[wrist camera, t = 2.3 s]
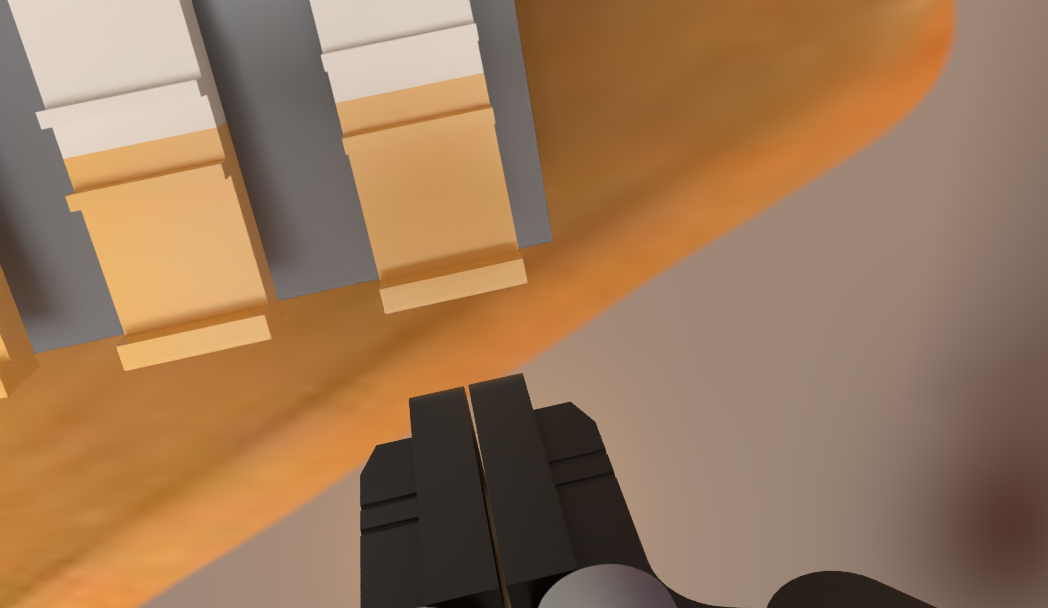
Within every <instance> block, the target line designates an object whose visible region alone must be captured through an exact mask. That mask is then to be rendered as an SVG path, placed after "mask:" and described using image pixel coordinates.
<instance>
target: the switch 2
mask: <svg viewBox="0 0 1048 608" xmlns="http://www.w3.org/2000/svg"><path fill="white" fill-rule="evenodd" d="M310 4H311V8H312V12H313V16H314V20H315V24H316V28H317V32H318V36H319V40H320V44H321V48H322V52H323V54H321V59H322V62H323V66H324V70H325V72H328V76H329V80H330V84H331V88H332V92H333V96H334V100H335V104H336V108H337V112H338V116H339V120H340V124H341V128H342V132H343V137H342V142H343V146H344V150H345V154H346V155H349V159H350V163H351V167H352V171H353V175H354V179H355V183H356V187H357V191H358V195H359V199H360V203H361V207H362V211H363V215H364V219H365V223H366V227H367V231H368V235H369V239H370V243H371V247H372V251H373V255H374V259H375V263H376V267H377V271H378V275H379V279H380V287H379V291H380V295H381V299H382V303H383V307H384V311H385V314H388V313H393V312H398V311H402V310H407V309H411V308H416V307H420V306H425V305H429V304H434V303H439V302H443V301H448V300H452V299H457V298H461V297H466V296H471V295H475V294H480V293H484V292H489V291H493V290H498V289H503V288H507V287H512V286H516V285H521V284H525V283H528V282H527V277H526V272H525V267H524V262H523V258H522V256H521V254H520V252H519V248H518V243H517V238H516V232H515V227H514V222H513V217H512V212H511V207H510V202H509V197H508V192H507V187H506V182H505V177H504V172H503V167H502V162H501V157H500V152H499V147H498V142H497V137H496V132H495V127H494V124H496V123H495V117H494V112H493V107H492V106H491V105H490V102H489V96H488V91H487V86H486V81H485V76H484V71H483V66H482V61H481V56H480V51H479V46H478V41H479V37H478V32H477V27H476V23H474V21H473V16H472V11H471V6H470V1H469V0H310Z"/></svg>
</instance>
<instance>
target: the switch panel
mask: <svg viewBox="0 0 1048 608" xmlns="http://www.w3.org/2000/svg"><path fill="white" fill-rule="evenodd" d="M191 1H192V4H193V7H194V11H195V14H196V18H197V21H198V25H199V28H200V32H201V35H202V39H203V42H204V45H205V49H206V52H207V56H208V59H209V63H210V66H211V70H212V73H213V76H214V80H215V83H216V87H217V90H218V94H219V97H220V101H221V104H222V108H223V111H224V114H225V118H226V121H227V125H228V128H229V132H230V135H231V139H232V142H233V146H234V149H235V152H236V156H237V159H238V163H239V166H240V170H241V173H242V177H243V180H244V183H245V187H246V190H247V194H248V197H249V201H250V204H251V208H252V211H253V215H254V218H255V221H256V225H257V228H258V232H259V235H260V239H261V242H262V246H263V249H264V253H265V256H266V259H267V263H268V266H269V270H270V273H271V277H272V280H273V284H274V287H275V290H276V294H277V297H278V301H279V300H284V299H289V298H293V297H298V296H302V295H307V294H312V293H316V292H321V291H325V290H330V289H335V288H339V287H344V286H349V285H353V284H358V283H362V282H367V281H372V280H376V279H379V275H378V271H377V267H376V263H375V259H374V255H373V251H372V247H371V243H370V239H369V235H368V231H367V227H366V223H365V219H364V215H363V211H362V207H361V203H360V199H359V195H358V191H357V187H356V183H355V179H354V175H353V171H352V167H351V163H350V159H349V155H346V154H345V150H344V146H343V142H342V137H343V132H342V128H341V124H340V120H339V116H338V112H337V108H336V104H335V100H334V96H333V92H332V88H331V84H330V80H329V76H328V72H325V70H324V66H323V62H322V59H321V54H323V52H322V48H321V44H320V40H319V36H318V32H317V28H316V24H315V20H314V16H313V12H312V8H311V4H310V0H191ZM469 1H470V6H471V11H472V16H473V21H474V23H476V27H477V32H478V37H479V41H478V46H479V51H480V56H481V61H482V66H483V71H484V76H485V81H486V86H487V91H488V96H489V102H490V105H491V106H492V107H493V112H494V117H495V123H496V124H494V127H495V132H496V137H497V142H498V147H499V152H500V157H501V162H502V167H503V172H504V177H505V182H506V187H507V192H508V197H509V202H510V207H511V212H512V217H513V222H514V227H515V232H516V238H517V243H518V248H524V247H528V246H533V245H538V244H542V243H547V242H552V241H553V239H552V233H551V226H550V220H549V214H548V208H547V202H546V195H545V189H544V183H543V177H542V170H541V164H540V158H539V152H538V146H537V139H536V133H535V127H534V121H533V114H532V108H531V102H530V96H529V90H528V83H527V77H526V71H525V65H524V59H523V52H522V46H521V40H520V34H519V27H518V21H517V15H516V9H515V3H514V0H469ZM42 110H46V108H45V106H44V103H43V100H42V97H41V94H40V91H39V88H38V86H37V83H36V80H35V77H34V74H33V71H32V68H31V66H30V63H29V60H28V57H27V54H26V51H25V48H24V46H23V43H22V40H21V37H20V34H19V31H18V28H17V26H16V23H15V20H14V17H13V14H12V11H11V8H10V6H9V3H8V0H0V265H1V268H2V270H3V273H4V275H5V278H6V281H7V283H8V286H9V288H10V291H11V294H12V296H13V299H14V301H15V304H16V307H17V309H18V312H19V314H20V317H21V320H22V322H23V325H24V327H25V330H26V332H27V335H28V338H29V340H30V343H31V345H32V348H33V351H34V353H39V352H44V351H49V350H53V349H58V348H62V347H67V346H72V345H76V344H81V343H86V342H90V341H95V340H99V339H104V338H109V337H113V336H118V335H122V334H124V331H123V328H122V326H121V323H120V320H119V317H118V314H117V311H116V308H115V306H114V303H113V300H112V297H111V294H110V291H109V288H108V286H107V283H106V280H105V277H104V274H103V271H102V268H101V266H100V263H99V260H98V257H97V254H96V251H95V248H94V246H93V243H92V240H91V237H90V234H89V231H88V228H87V226H86V223H85V220H84V217H83V214H82V211H81V210H79V211H74V212H70V209H69V206H68V203H67V200H66V198H65V196H66V195H68V194H70V193H72V192H73V191H74V188H73V186H72V183H71V180H70V177H69V174H68V171H67V168H66V166H65V163H64V160H63V157H62V154H61V151H60V148H59V146H58V143H57V140H56V137H55V134H54V131H53V128H47V129H42V130H41V127H40V124H39V121H38V118H37V116H36V113H35V112H39V111H42Z"/></svg>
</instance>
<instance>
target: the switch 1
mask: <svg viewBox="0 0 1048 608" xmlns="http://www.w3.org/2000/svg"><path fill="white" fill-rule="evenodd" d="M38 367H39V364H38V361H37V358H36V356H35V353H34V351H33V348H32V345H31V343H30V340H29V338H28V335H27V332H26V330H25V327H24V325H23V322H22V320H21V317H20V314H19V312H18V309H17V307H16V304H15V301H14V299H13V296H12V294H11V291H10V288H9V286H8V283H7V281H6V278H5V275H4V273H3V270H2V268H1V265H0V399H1V398H5V397H8V396H9V395H10V394H11V393H12V392H13V391H14V390H15V389H16V388H18V387H19V386H20V385H21V384H22V383H23V382H24V381H25V380H26V379H27V378H28V377H29V376H30V375H31V374H32V373H33V372H34V371H35V370H36V369H37V368H38Z"/></svg>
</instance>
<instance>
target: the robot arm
mask: <svg viewBox="0 0 1048 608" xmlns="http://www.w3.org/2000/svg"><path fill="white" fill-rule="evenodd" d="M469 391H470V396H471V402H472V406H473V412H474V417H475V423H476V428H477V434H478V439H479V444H480V450H481V455H482V461H483V465H482V461H481V457H480V452H479V448H478V443H477V439H476V435H475V431H474V426H473V422H472V418H471V413H470V409H469V405H468V400H467V396H466V392H465V388H464V386H462V387H458V388H453V389H449V390H444V391H440V392H435V393H431V394H426V395H422V396H417V397H413V398H410V399H409V407H410V419H411V431H412V438H407V439H403V440H398V441H394V442H389V443H385V444H380V445H376V447H375V449H374V451H373V453H372V455H371V456H370V458H369V460H368V462H367V464H366V466H365V467H364V469H363V471H362V473H361V475H360V506H361V511H360V517H361V518H360V526H361V527H360V530H361V540H360V544H361V545H360V550H361V551H360V552H361V553H360V554H361V555H360V557H361V558H360V563H361V564H360V567H361V608H734V607H720V606H712V605H707V604H702V603H699V602H696V601H693V600H690V599H687V598H685V597H684V596H681V595H680V594H678V593H676V592H674V591H673V590H672V589H670V588H669V587H667V586H666V585H665V584H664V583H663V582H662V581H661V580H660V579H659V578H658V577H657V576H656V574H655V573H654V572H653V570H652V569H651V566H650V564H649V563H648V560H647V558H646V555H645V552H644V550H643V547H642V544H641V542H640V539H639V536H638V534H637V531H636V528H635V526H634V523H633V520H632V518H631V515H630V512H629V510H628V508H627V505H626V502H625V499H624V497H623V494H622V491H621V489H620V486H619V483H618V481H617V478H615V474H614V470H613V468H612V465H611V462H610V460H609V457H608V455H607V454H606V449H605V446H604V444H603V442H602V439H601V436H600V433H599V431H598V428H597V425H596V423H595V421H593V420H592V419H591V418H590V417H589V416H587V415H586V414H585V413H584V412H583V411H581V410H580V409H579V408H578V407H576V406H575V405H574V404H573V403H571V402H567V403H562V404H558V405H553V406H549V407H545V408H540V409H536V410H533V408H532V404H531V401H530V397H529V394H528V391H527V387H526V383H525V380H524V376H523V374H522V373H520V374H516V375H511V376H507V377H502V378H497V379H493V380H488V381H484V382H479V383H475V384H470V385H469ZM483 466H484V469H483ZM484 471H485V474H484ZM485 477H486V478H485ZM767 608H936V607H934V606H932V605H930V604H927V603H925V602H923V601H921V600H918V599H916V598H914V597H912V596H910V595H907V594H905V593H903V592H901V591H898V590H896V589H894V588H892V587H890V586H887V585H885V584H883V583H881V582H878V581H876V580H873V579H871V578H868V577H865V576H863V575H859V574H854V573H850V572H842V571H822V572H814V573H810V574H807V575H803V576H800V577H798V578H796V579H793V580H791V581H790V582H788V583H787V584H785V585H784V586H782V587H781V588H780V589H779V590H778V591H777V592H776V593H775V594H774V595H773V597H772V599H771V600H770V602H769V603H768V606H767Z"/></svg>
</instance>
